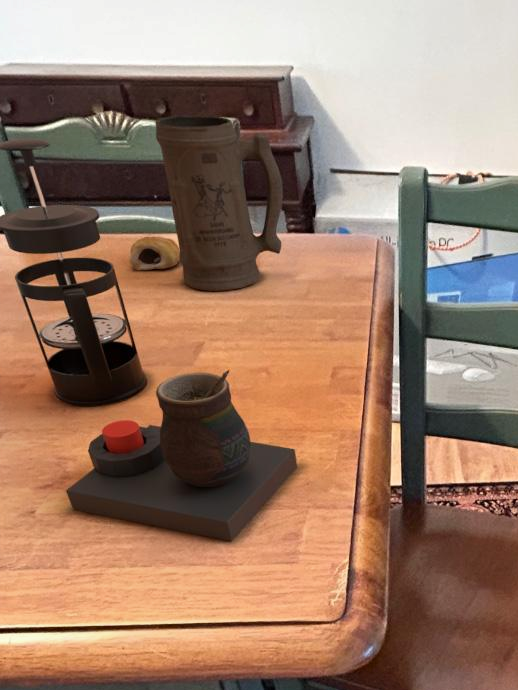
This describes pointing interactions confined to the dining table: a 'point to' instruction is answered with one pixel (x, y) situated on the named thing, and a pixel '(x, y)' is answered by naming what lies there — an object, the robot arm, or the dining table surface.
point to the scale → (177, 488)
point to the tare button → (122, 436)
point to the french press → (72, 298)
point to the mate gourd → (202, 430)
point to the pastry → (154, 253)
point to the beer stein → (217, 200)
